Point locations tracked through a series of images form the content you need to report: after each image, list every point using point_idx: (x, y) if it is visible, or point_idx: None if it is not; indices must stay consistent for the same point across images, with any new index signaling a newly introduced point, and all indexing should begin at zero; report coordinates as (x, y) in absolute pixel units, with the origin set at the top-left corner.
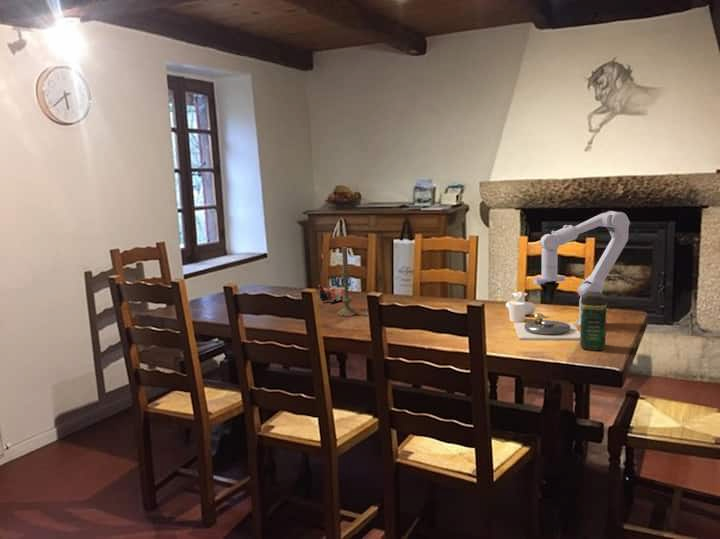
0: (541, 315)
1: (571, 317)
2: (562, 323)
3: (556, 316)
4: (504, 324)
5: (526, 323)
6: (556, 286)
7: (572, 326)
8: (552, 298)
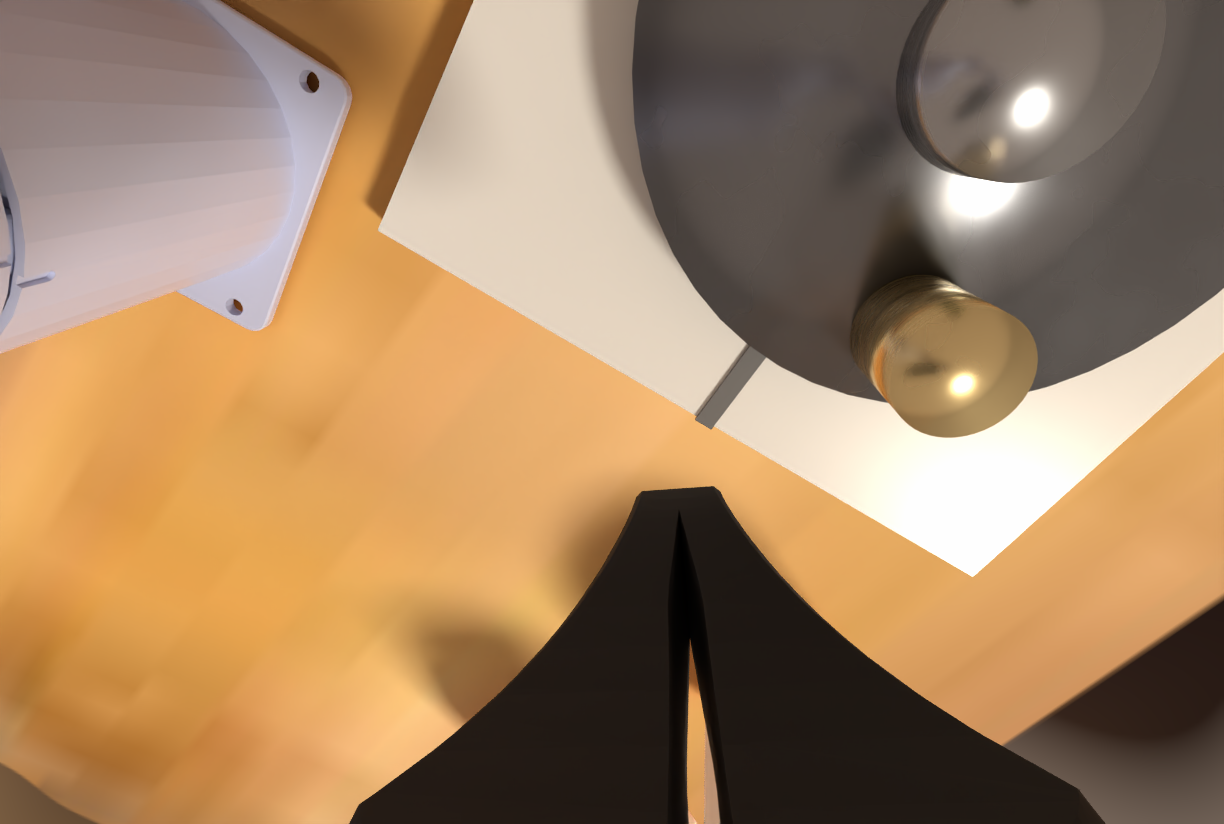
0: (967, 304)
1: (215, 514)
2: (693, 53)
3: (339, 610)
4: (1013, 620)
5: (1117, 347)
6: (523, 779)
7: (501, 60)
8: (656, 519)
